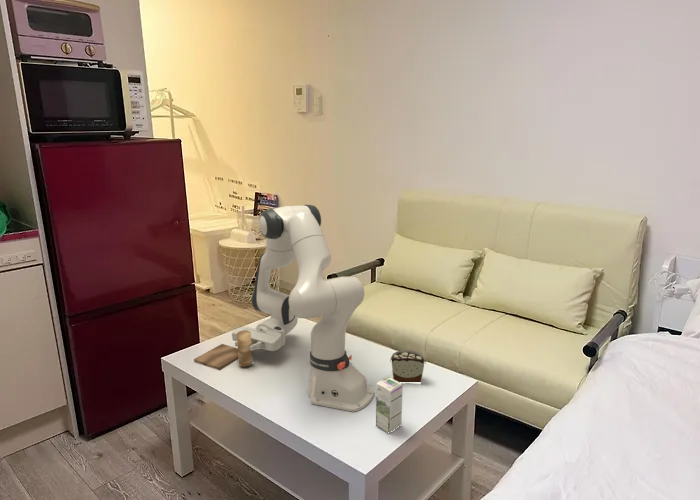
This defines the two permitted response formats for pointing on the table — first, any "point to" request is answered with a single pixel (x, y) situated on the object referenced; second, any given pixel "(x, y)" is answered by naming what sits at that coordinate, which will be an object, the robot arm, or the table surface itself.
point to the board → (218, 357)
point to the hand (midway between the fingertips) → (242, 346)
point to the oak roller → (244, 348)
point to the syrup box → (388, 404)
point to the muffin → (407, 366)
